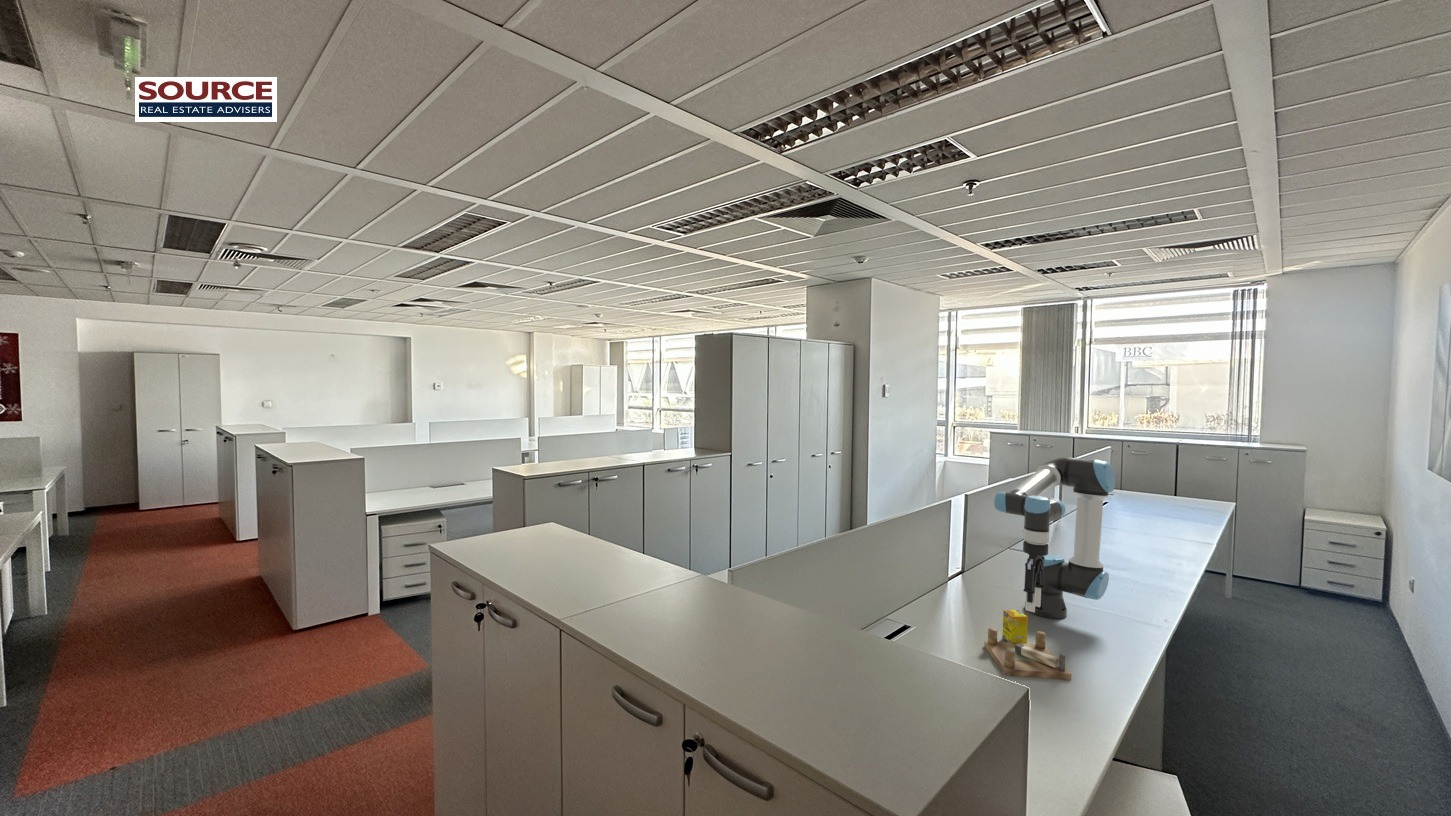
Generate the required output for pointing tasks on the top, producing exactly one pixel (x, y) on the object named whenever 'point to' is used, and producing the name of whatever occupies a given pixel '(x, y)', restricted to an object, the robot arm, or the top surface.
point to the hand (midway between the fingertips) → (1032, 608)
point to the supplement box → (1014, 626)
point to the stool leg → (1036, 655)
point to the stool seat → (1024, 658)
